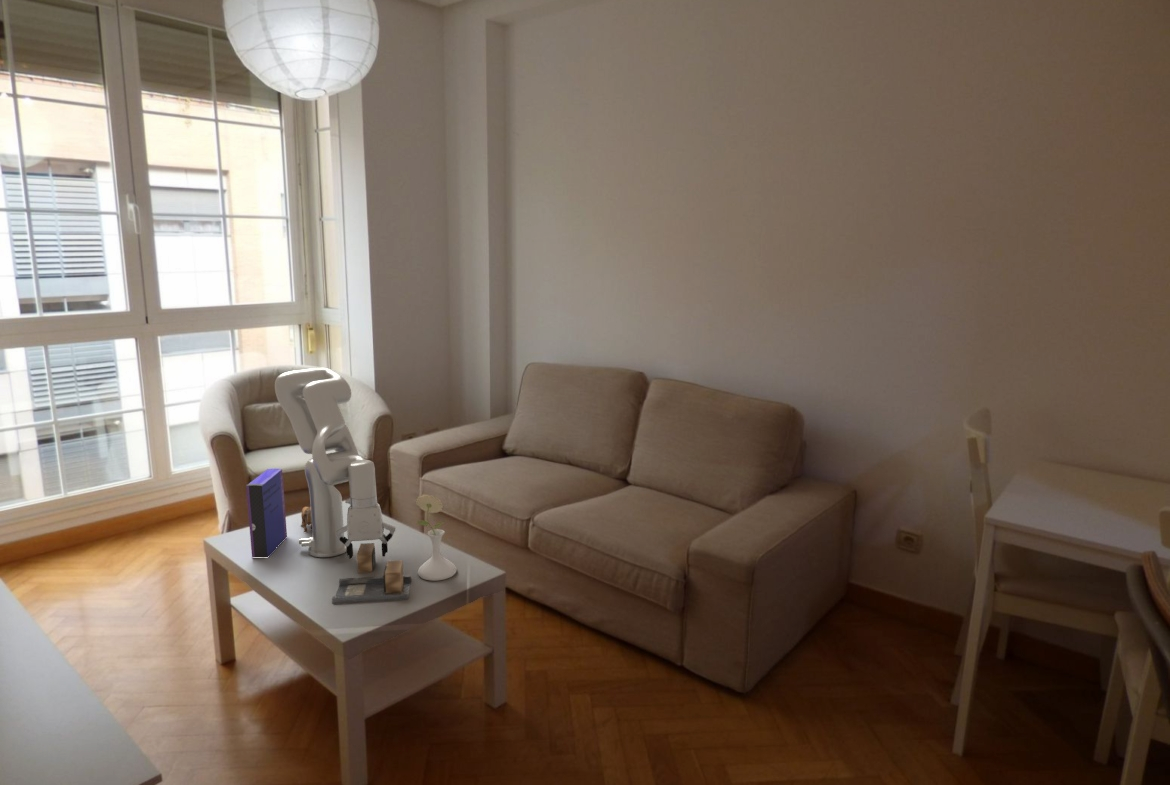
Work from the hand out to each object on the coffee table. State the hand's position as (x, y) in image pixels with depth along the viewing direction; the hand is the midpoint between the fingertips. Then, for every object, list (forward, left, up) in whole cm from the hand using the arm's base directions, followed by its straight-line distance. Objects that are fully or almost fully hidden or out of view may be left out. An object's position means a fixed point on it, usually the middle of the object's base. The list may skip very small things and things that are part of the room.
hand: (367, 556), depth 226 cm
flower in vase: (+20, -6, -5) cm, 22 cm away
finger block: (-1, +1, -5) cm, 5 cm away
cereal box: (-34, +22, -5) cm, 41 cm away
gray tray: (+3, -16, -5) cm, 17 cm away
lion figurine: (-25, +38, -5) cm, 46 cm away
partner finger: (+9, -16, -4) cm, 19 cm away
